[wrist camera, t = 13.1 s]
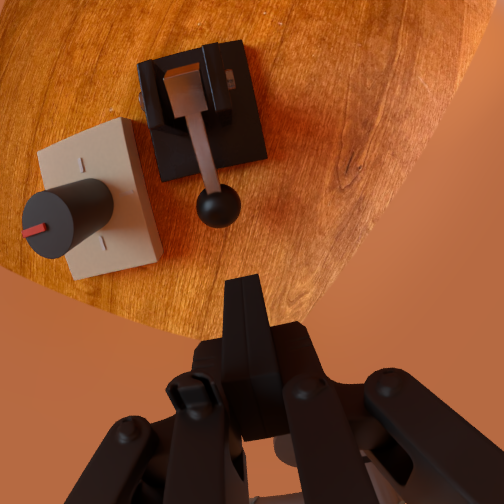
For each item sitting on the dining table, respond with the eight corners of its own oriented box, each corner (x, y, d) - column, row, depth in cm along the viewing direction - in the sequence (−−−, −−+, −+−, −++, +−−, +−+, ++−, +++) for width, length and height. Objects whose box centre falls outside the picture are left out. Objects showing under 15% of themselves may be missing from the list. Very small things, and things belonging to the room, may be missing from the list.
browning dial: (106, 171, 25) (61, 182, 17) (119, 223, 26) (80, 253, 18) (64, 186, 25) (13, 203, 17) (77, 235, 26) (32, 265, 18)
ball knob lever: (241, 204, 27) (247, 232, 24) (201, 213, 27) (203, 241, 24) (209, 58, 17) (211, 68, 15) (157, 71, 17) (149, 85, 15)
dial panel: (164, 251, 31) (157, 262, 28) (85, 270, 31) (73, 281, 28) (131, 119, 26) (120, 116, 23) (51, 150, 26) (35, 152, 23)
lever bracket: (266, 158, 28) (288, 163, 17) (164, 180, 28) (124, 201, 17) (241, 44, 24) (247, -13, 13) (141, 68, 24) (93, 29, 13)
